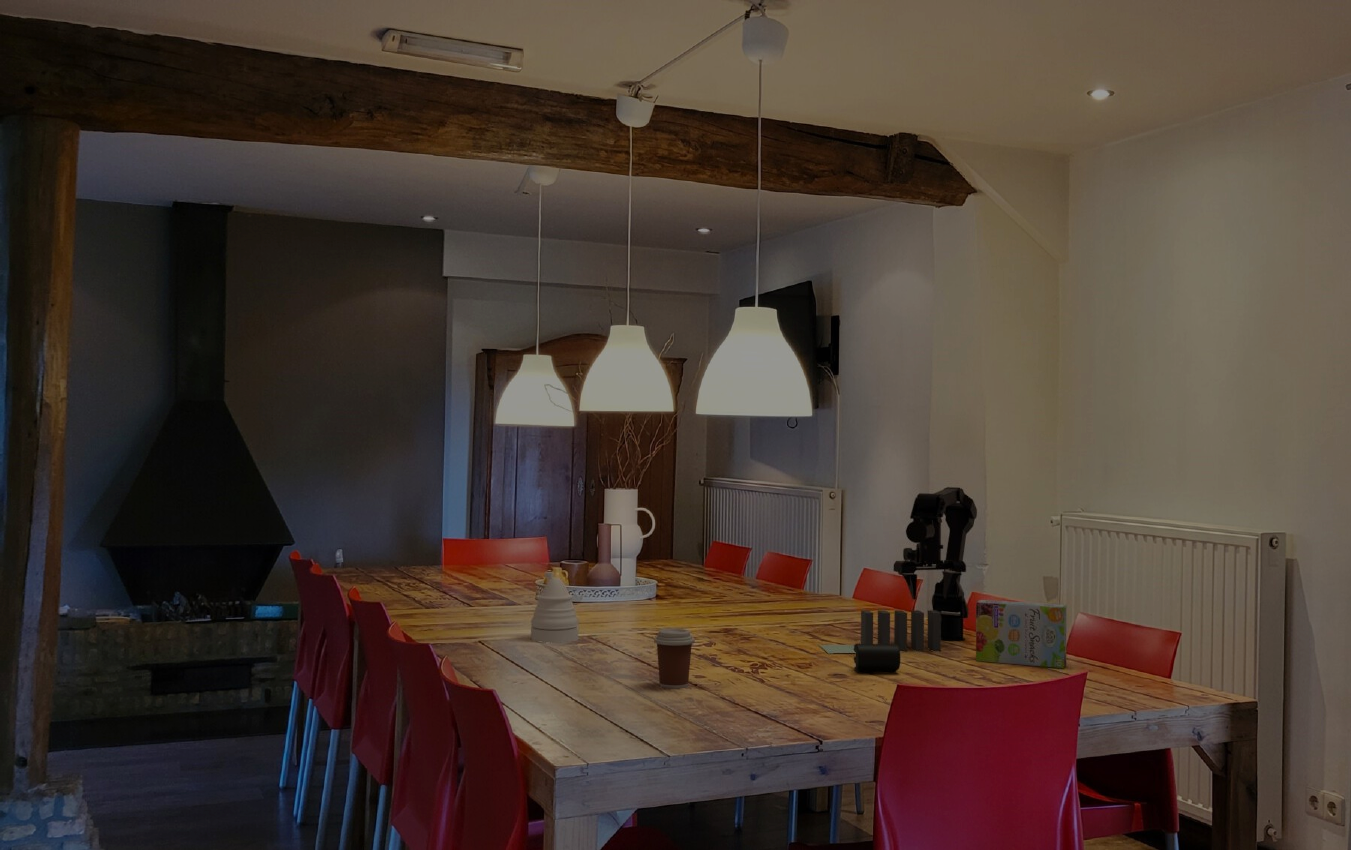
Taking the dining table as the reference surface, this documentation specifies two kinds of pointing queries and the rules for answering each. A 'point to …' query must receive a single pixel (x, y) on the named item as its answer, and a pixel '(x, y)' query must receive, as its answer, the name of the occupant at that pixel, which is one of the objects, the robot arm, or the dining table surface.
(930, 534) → the robot arm
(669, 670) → the coffee cup
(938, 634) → the domino
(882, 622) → the domino
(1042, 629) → the snack box
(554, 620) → the honey pot
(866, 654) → the end cap
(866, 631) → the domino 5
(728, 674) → the dining table surface
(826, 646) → the mat
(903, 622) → the domino
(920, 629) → the domino
